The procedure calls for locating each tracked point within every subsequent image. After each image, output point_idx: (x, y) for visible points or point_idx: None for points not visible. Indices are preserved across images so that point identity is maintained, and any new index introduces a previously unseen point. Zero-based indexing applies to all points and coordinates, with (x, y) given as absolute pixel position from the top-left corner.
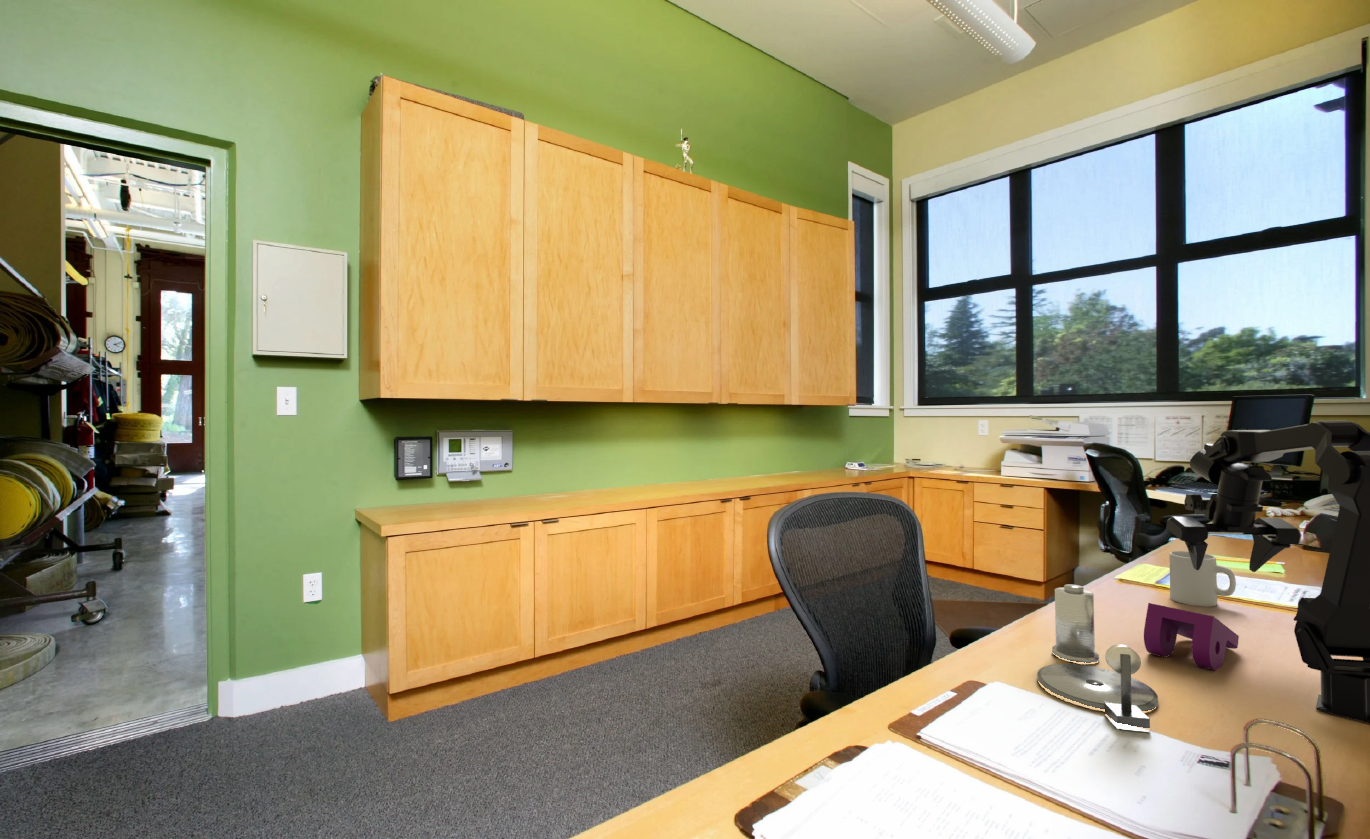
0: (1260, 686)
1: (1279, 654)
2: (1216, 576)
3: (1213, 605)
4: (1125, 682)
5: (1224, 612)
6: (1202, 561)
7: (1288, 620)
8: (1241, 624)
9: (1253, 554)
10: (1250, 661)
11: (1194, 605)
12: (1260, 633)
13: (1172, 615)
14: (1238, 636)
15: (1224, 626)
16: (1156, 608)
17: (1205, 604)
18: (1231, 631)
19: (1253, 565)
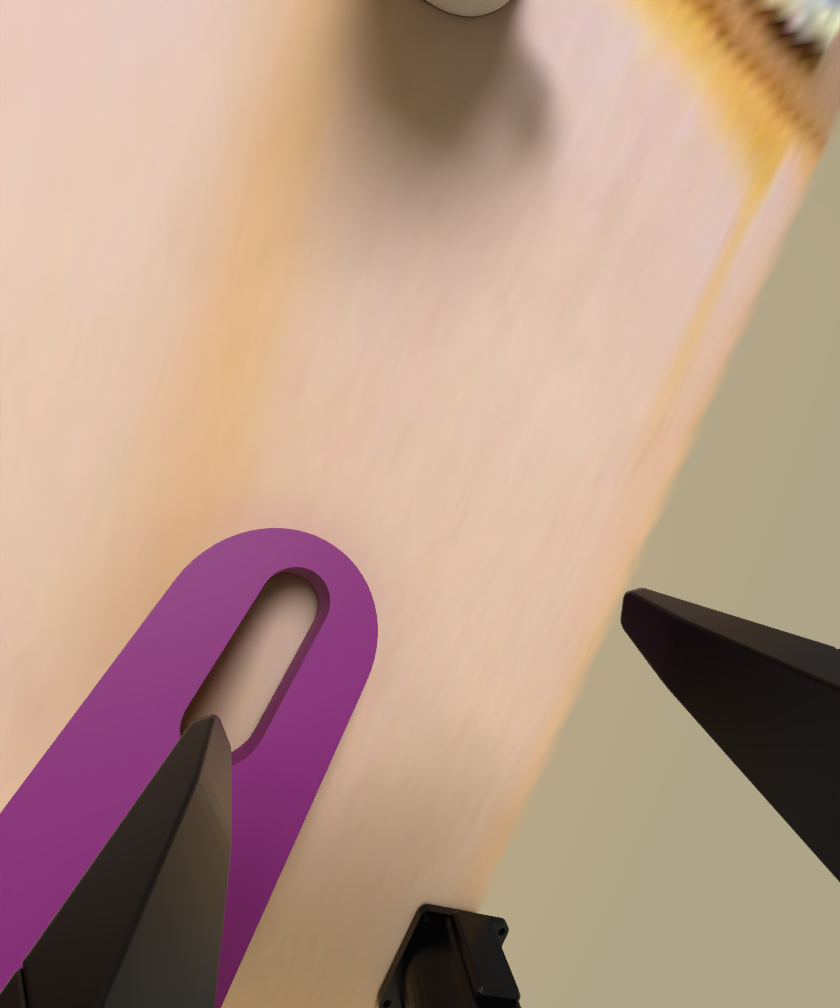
0: (315, 897)
1: (477, 582)
2: None
3: (503, 5)
4: None
5: (507, 104)
6: (218, 937)
7: (659, 177)
8: (500, 270)
9: (773, 690)
10: (370, 690)
11: (432, 4)
12: (515, 369)
13: None
14: (370, 668)
15: (279, 869)
16: None
17: (473, 8)
18: (328, 761)
19: (663, 659)
